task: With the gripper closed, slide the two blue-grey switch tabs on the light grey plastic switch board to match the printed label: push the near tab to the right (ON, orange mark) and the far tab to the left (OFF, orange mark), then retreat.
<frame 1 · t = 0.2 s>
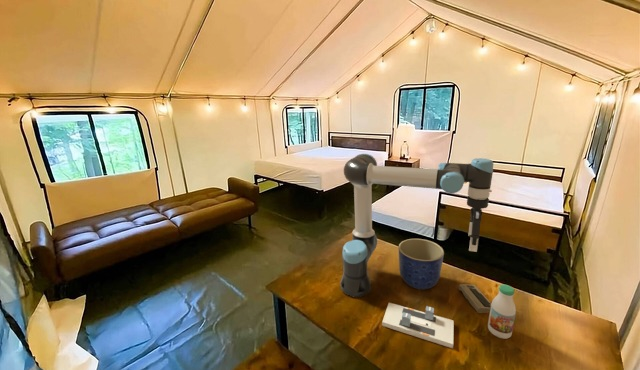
hand: (472, 243, 112), 28 cm above the table, fingers open, 13 cm apart
planter: (418, 282, 132), on the table
tab far: (429, 312, 106), point 5 cm above the table, slide at 4.0 cm
switch board: (417, 325, 106), on the table
milk bottle: (499, 331, 102), on the table
tab near: (406, 319, 104), point 5 cm above the table, slide at -4.0 cm
computer: (475, 300, 118), on the table
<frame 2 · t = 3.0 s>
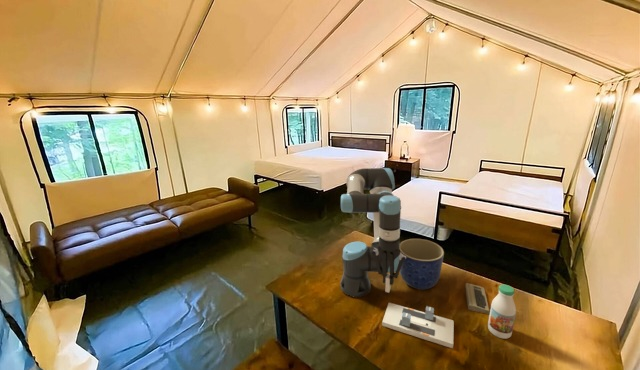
hand: (388, 290, 104), 16 cm above the table, fingers closed
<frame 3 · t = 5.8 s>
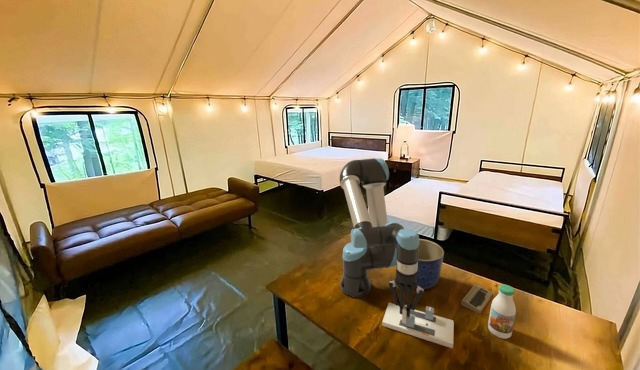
hand: (404, 320, 104), 4 cm above the table, fingers closed
tab near: (410, 320, 103), point 5 cm above the table, slide at -2.4 cm, touching gripper
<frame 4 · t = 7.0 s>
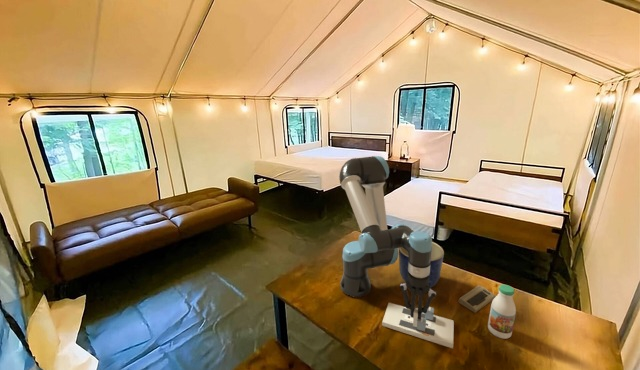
hand: (415, 323, 103), 4 cm above the table, fingers closed
tab near: (421, 323, 101), point 5 cm above the table, slide at 1.7 cm, touching gripper
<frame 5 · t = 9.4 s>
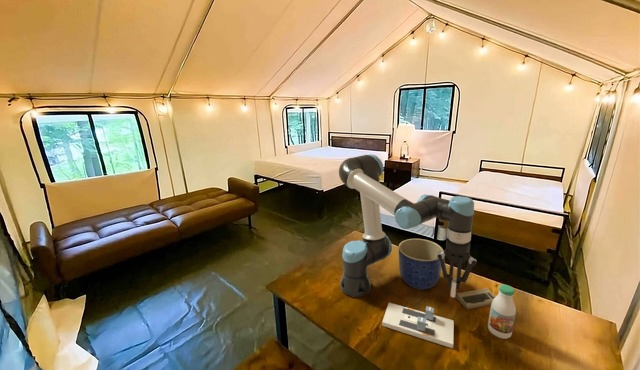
hand: (452, 294, 100), 16 cm above the table, fingers closed
tab near: (421, 323, 101), point 5 cm above the table, slide at 1.7 cm
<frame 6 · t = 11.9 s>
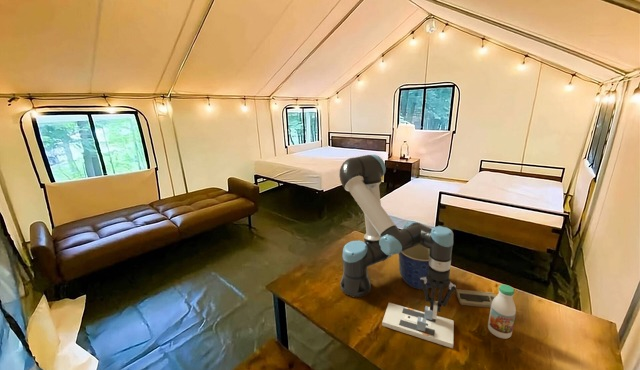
hand: (434, 316, 106), 3 cm above the table, fingers closed
tab far: (428, 312, 106), point 5 cm above the table, slide at 3.7 cm, touching gripper
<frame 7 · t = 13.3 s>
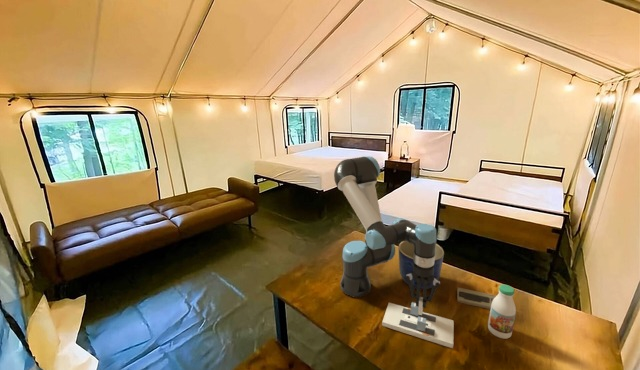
hand: (420, 312, 108), 4 cm above the table, fingers closed
tab far: (414, 308, 109), point 5 cm above the table, slide at -1.7 cm, touching gripper
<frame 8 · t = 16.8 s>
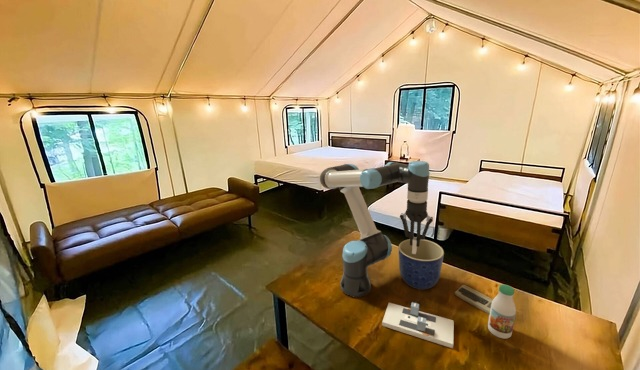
hand: (414, 252, 110), 26 cm above the table, fingers closed
tab far: (414, 308, 109), point 5 cm above the table, slide at -1.7 cm
at the end: tab near slide at 1.7 cm; tab far slide at -1.7 cm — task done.
